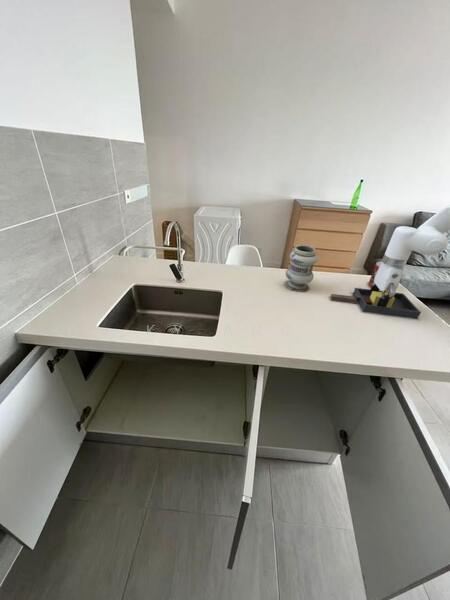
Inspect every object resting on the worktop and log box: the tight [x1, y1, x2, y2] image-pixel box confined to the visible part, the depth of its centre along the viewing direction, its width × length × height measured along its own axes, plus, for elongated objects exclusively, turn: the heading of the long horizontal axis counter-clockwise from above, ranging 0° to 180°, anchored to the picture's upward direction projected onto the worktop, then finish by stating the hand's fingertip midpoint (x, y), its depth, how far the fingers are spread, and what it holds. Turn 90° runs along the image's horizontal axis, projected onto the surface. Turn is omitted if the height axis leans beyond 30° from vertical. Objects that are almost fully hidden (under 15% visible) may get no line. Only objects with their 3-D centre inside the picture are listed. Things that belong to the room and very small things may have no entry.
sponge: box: [370, 291, 395, 308], centre depth 98 cm, size 7×4×4 cm, turn 80°
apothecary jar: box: [285, 244, 319, 292], centre depth 106 cm, size 12×12×18 cm
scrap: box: [363, 297, 373, 305], centre depth 100 cm, size 4×4×1 cm
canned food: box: [368, 261, 382, 291], centre depth 111 cm, size 8×8×11 cm
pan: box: [352, 287, 422, 320], centre depth 99 cm, size 20×15×3 cm
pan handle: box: [329, 293, 361, 304], centre depth 101 cm, size 11×3×3 cm, turn 80°
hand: (376, 300), depth 99 cm, fingers open, 9 cm apart
